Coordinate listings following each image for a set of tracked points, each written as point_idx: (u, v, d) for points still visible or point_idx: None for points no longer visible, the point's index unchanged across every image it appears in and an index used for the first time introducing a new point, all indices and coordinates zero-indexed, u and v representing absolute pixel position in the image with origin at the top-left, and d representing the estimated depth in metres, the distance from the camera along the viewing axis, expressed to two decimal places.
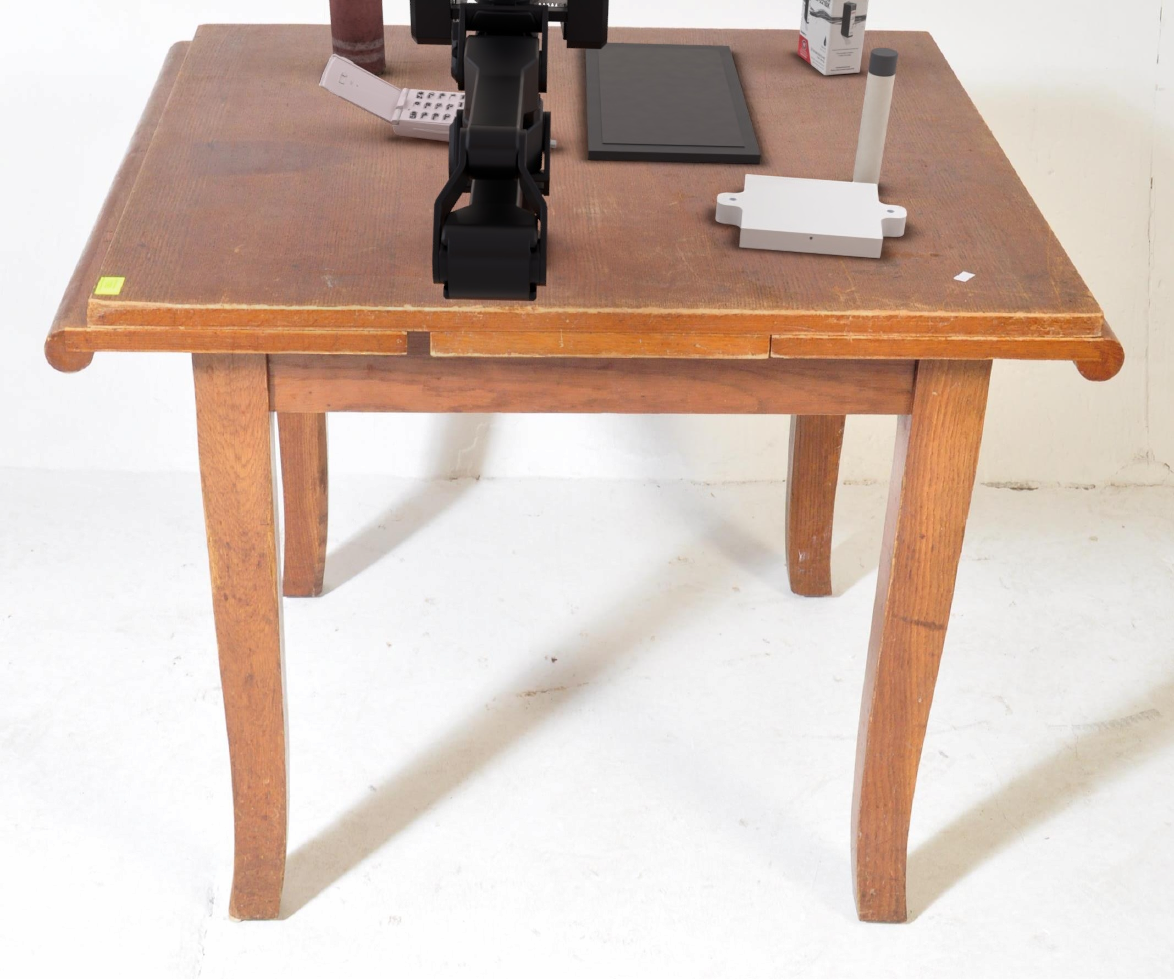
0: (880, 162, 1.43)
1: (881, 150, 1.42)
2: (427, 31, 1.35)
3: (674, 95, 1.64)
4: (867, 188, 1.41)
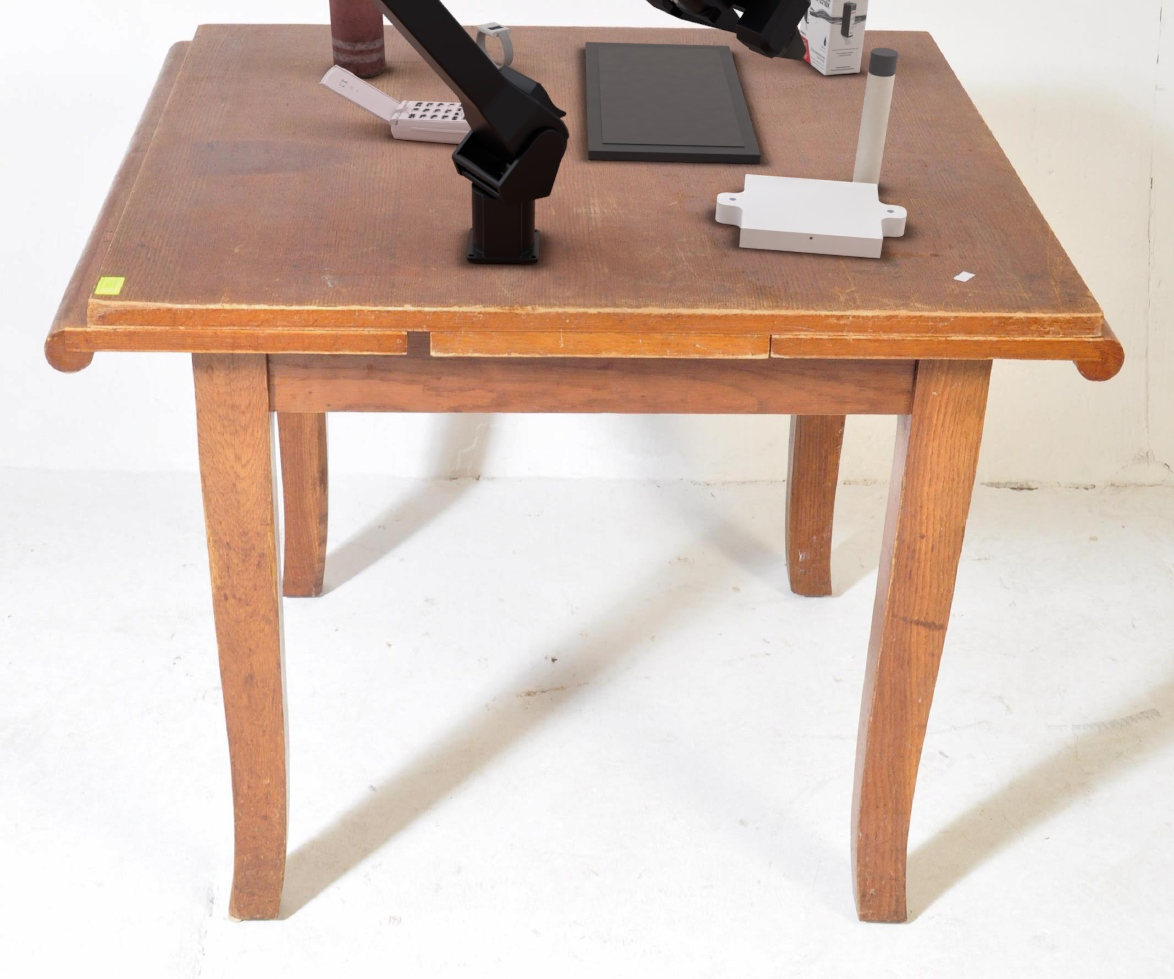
0: (880, 162, 1.43)
1: (881, 150, 1.42)
2: None
3: (674, 95, 1.64)
4: (867, 188, 1.41)
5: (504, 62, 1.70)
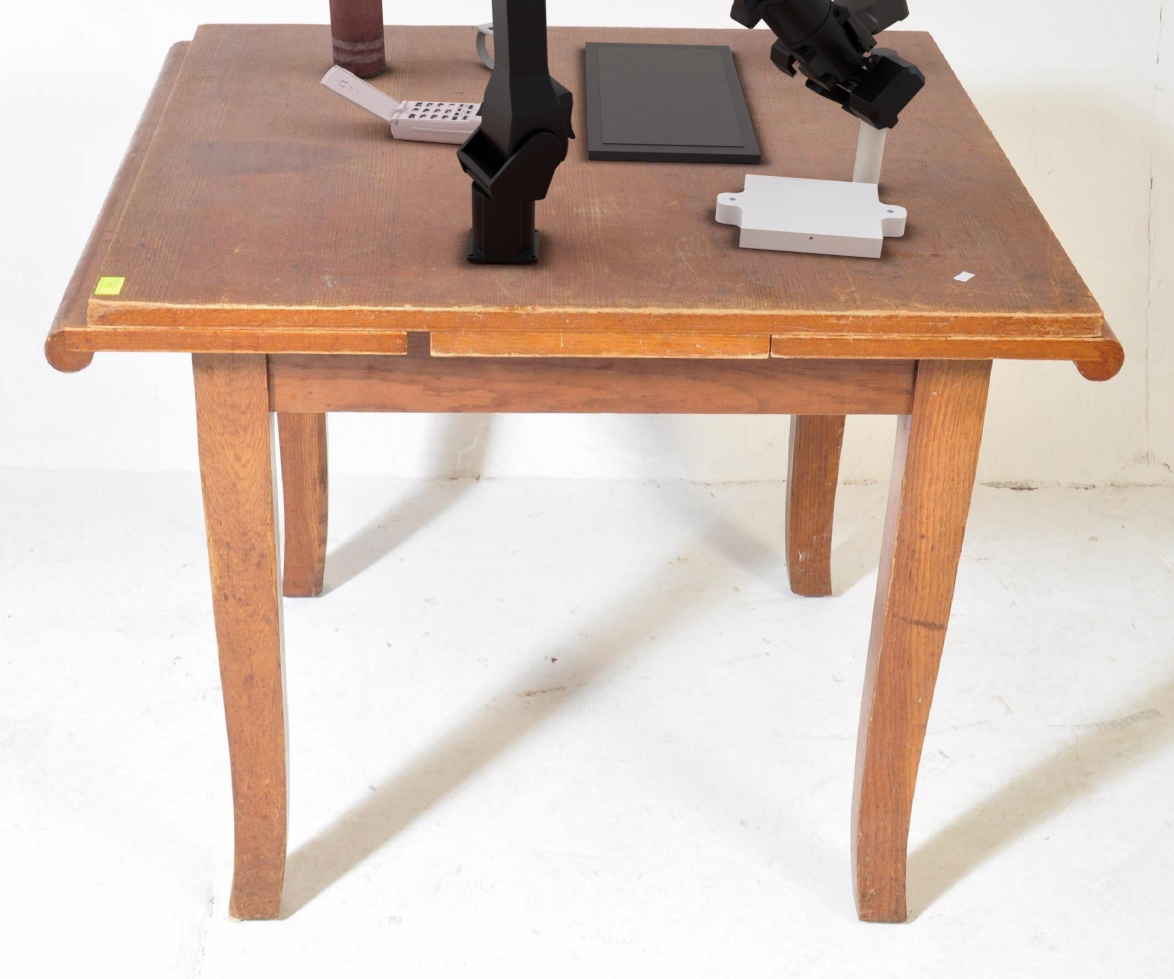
0: (880, 162, 1.43)
1: (881, 150, 1.42)
2: None
3: (674, 95, 1.64)
4: (867, 188, 1.41)
5: None
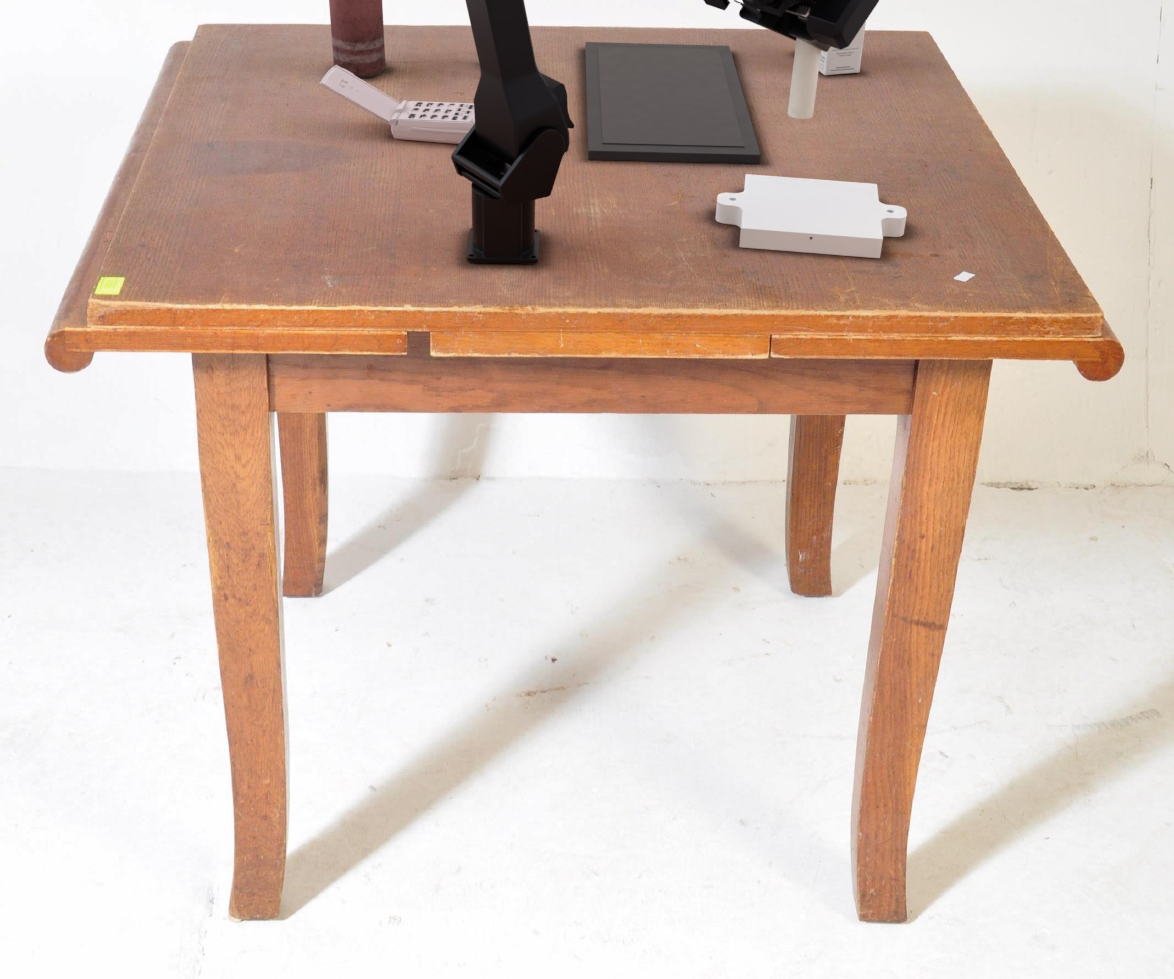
0: (816, 86, 1.45)
1: (817, 74, 1.44)
2: None
3: (674, 95, 1.64)
4: (867, 188, 1.41)
5: None
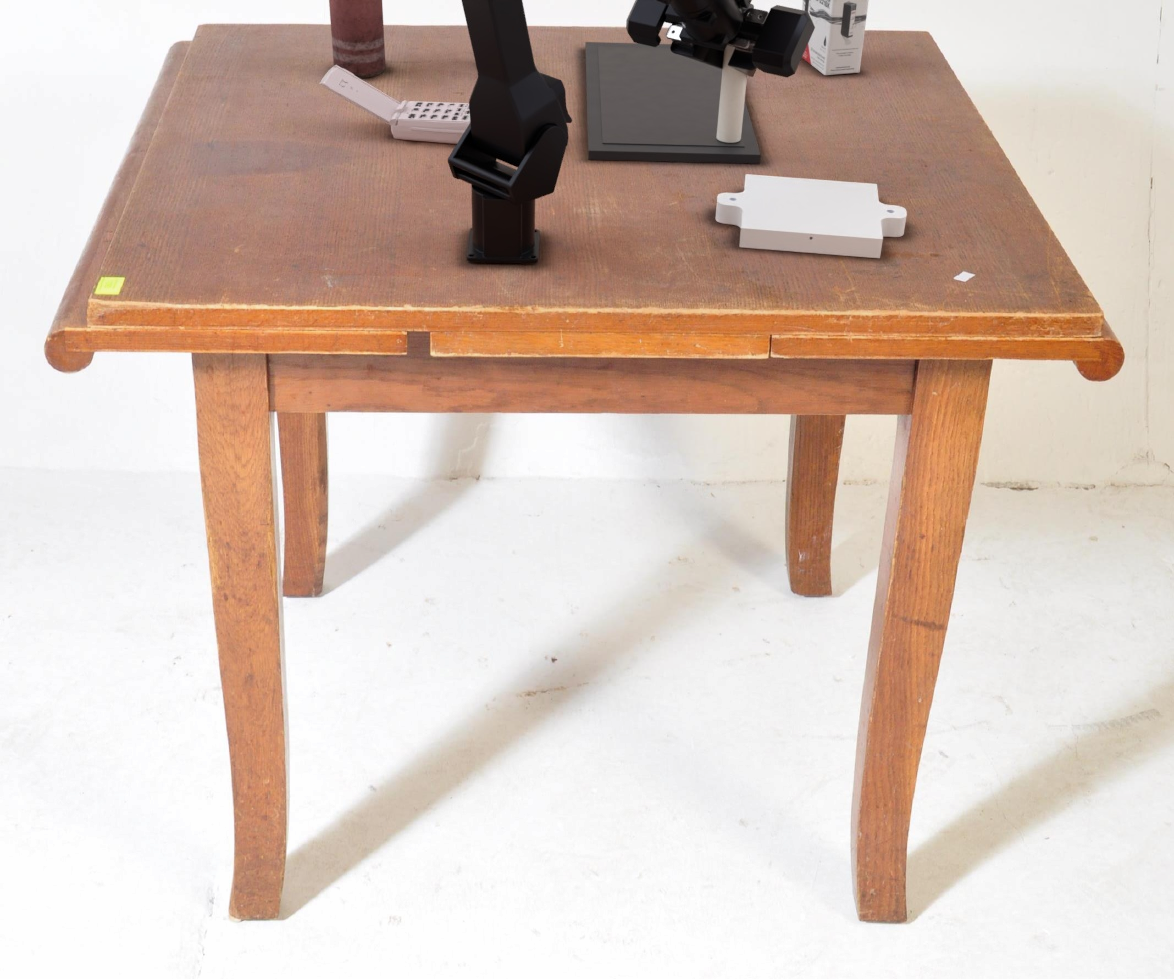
0: (743, 110, 1.51)
1: (744, 98, 1.50)
2: (639, 16, 1.44)
3: (674, 95, 1.64)
4: (867, 188, 1.41)
5: None
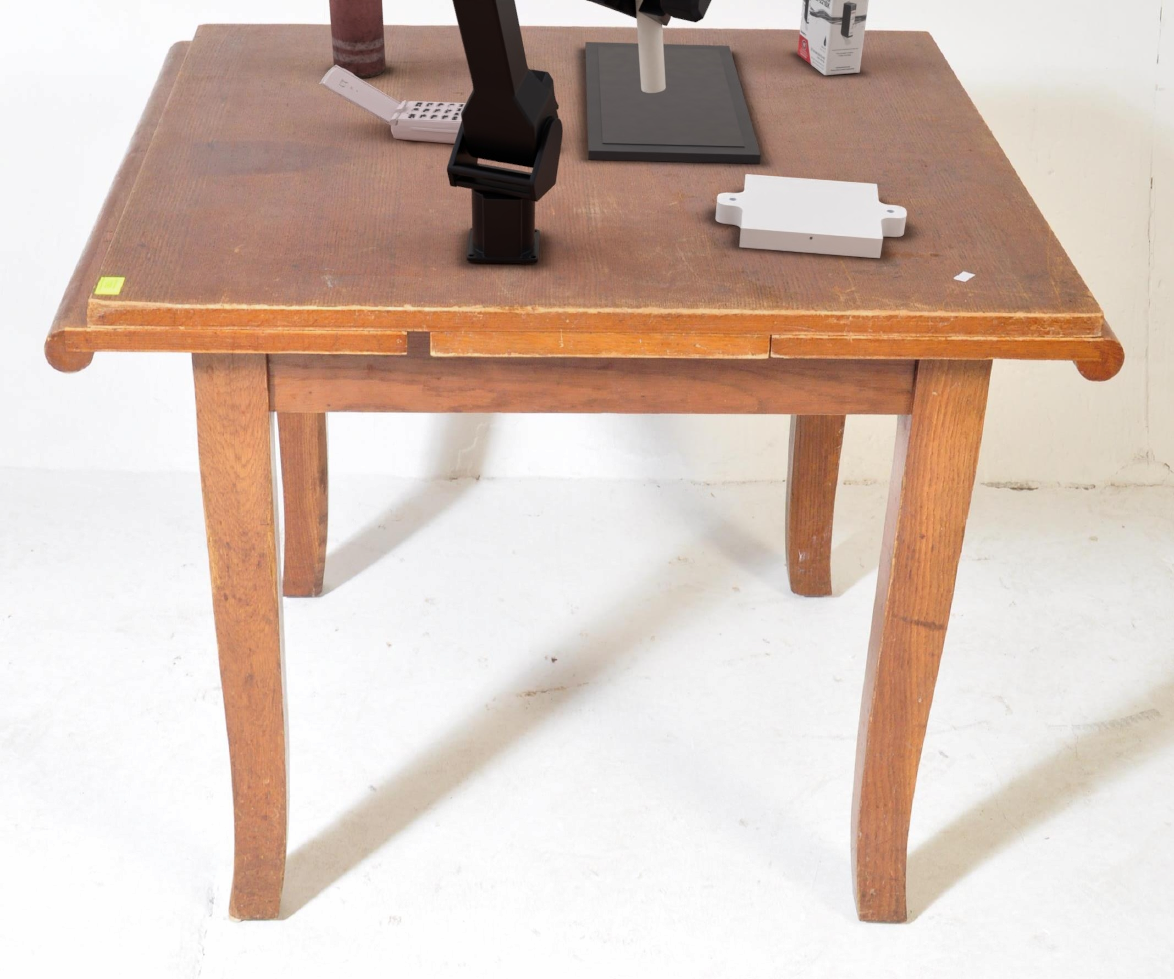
0: (663, 59, 1.51)
1: (662, 47, 1.50)
2: None
3: (674, 95, 1.64)
4: (867, 188, 1.41)
5: None
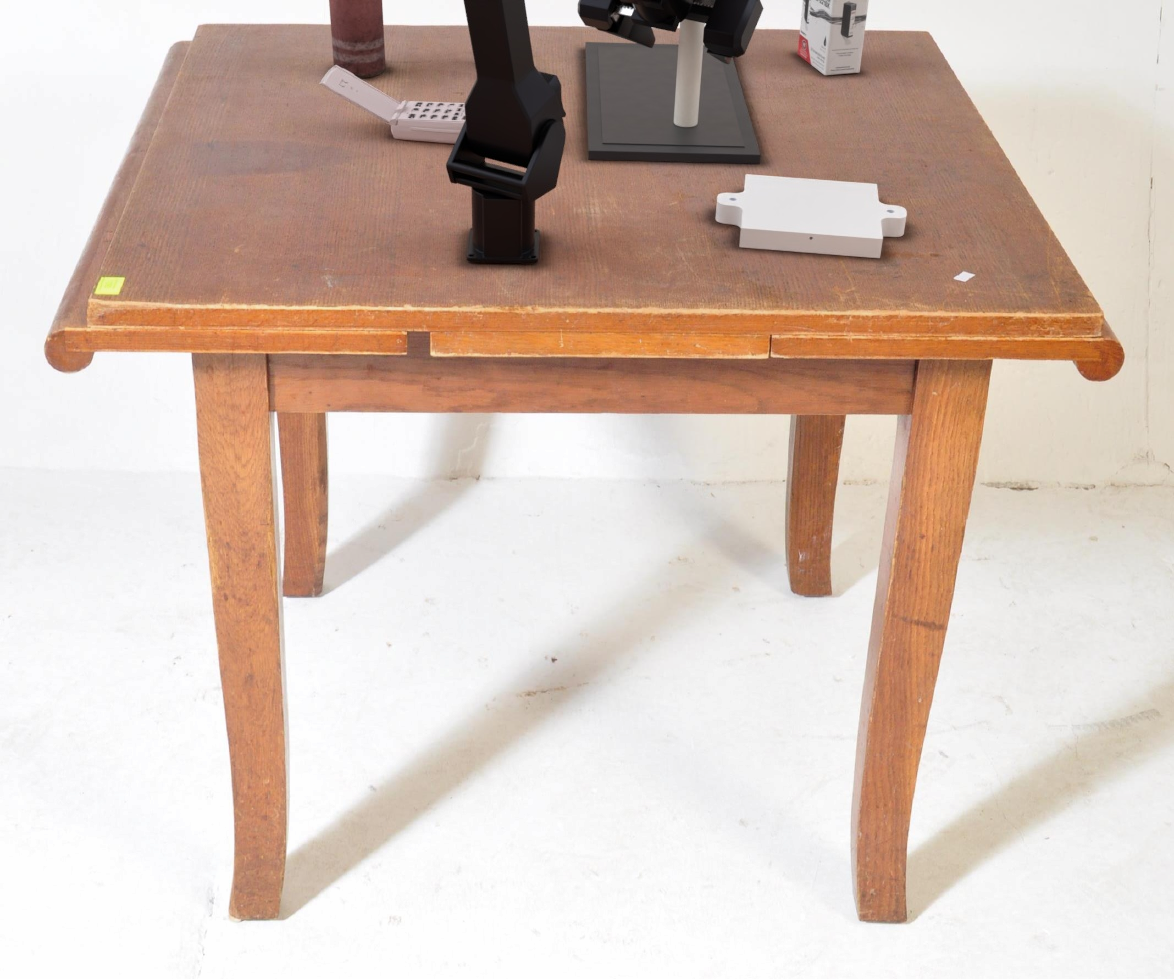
0: (699, 95, 1.55)
1: None
2: (591, 0, 1.47)
3: (674, 95, 1.64)
4: (867, 188, 1.41)
5: None
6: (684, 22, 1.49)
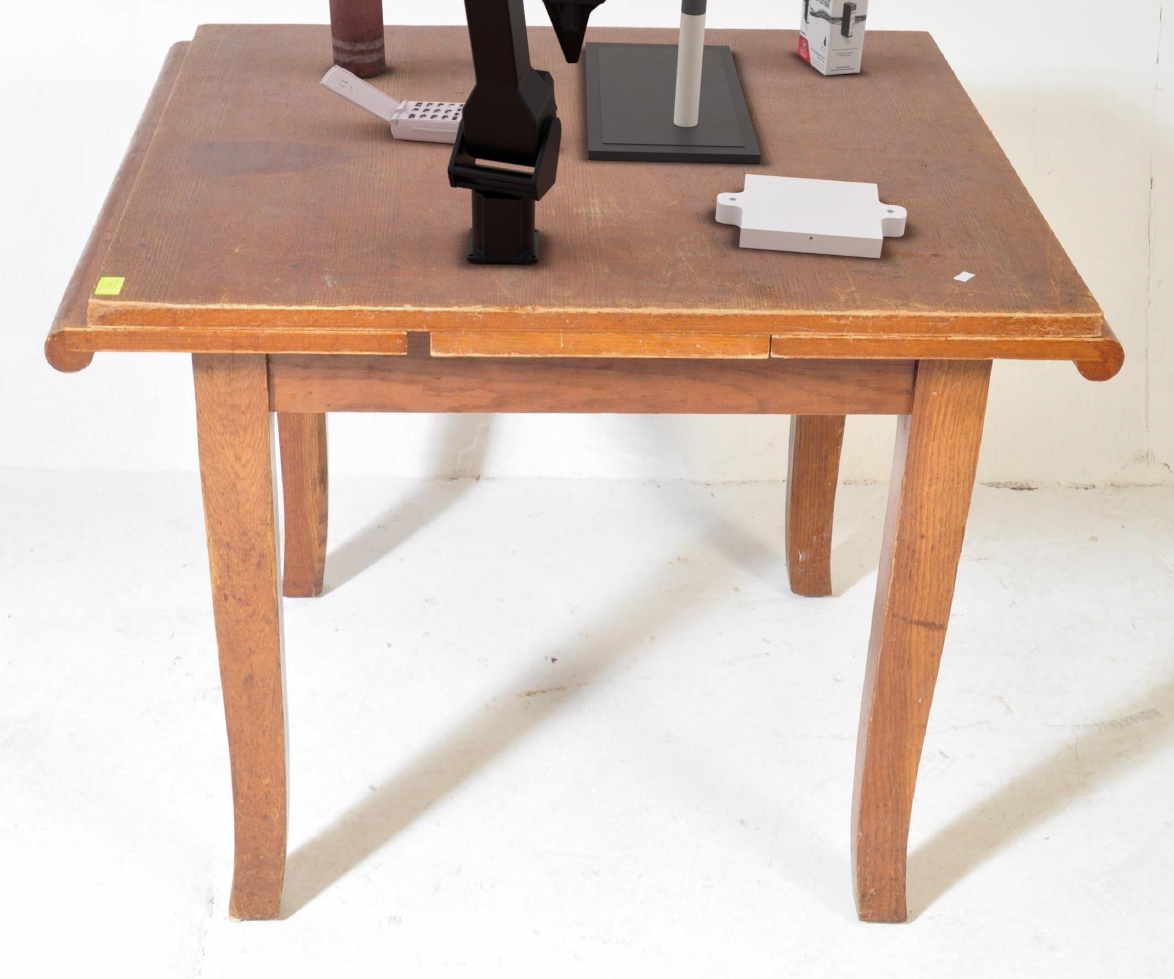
0: (699, 95, 1.55)
1: None
2: None
3: (674, 95, 1.64)
4: (867, 188, 1.41)
5: None
6: (684, 22, 1.49)
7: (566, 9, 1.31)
